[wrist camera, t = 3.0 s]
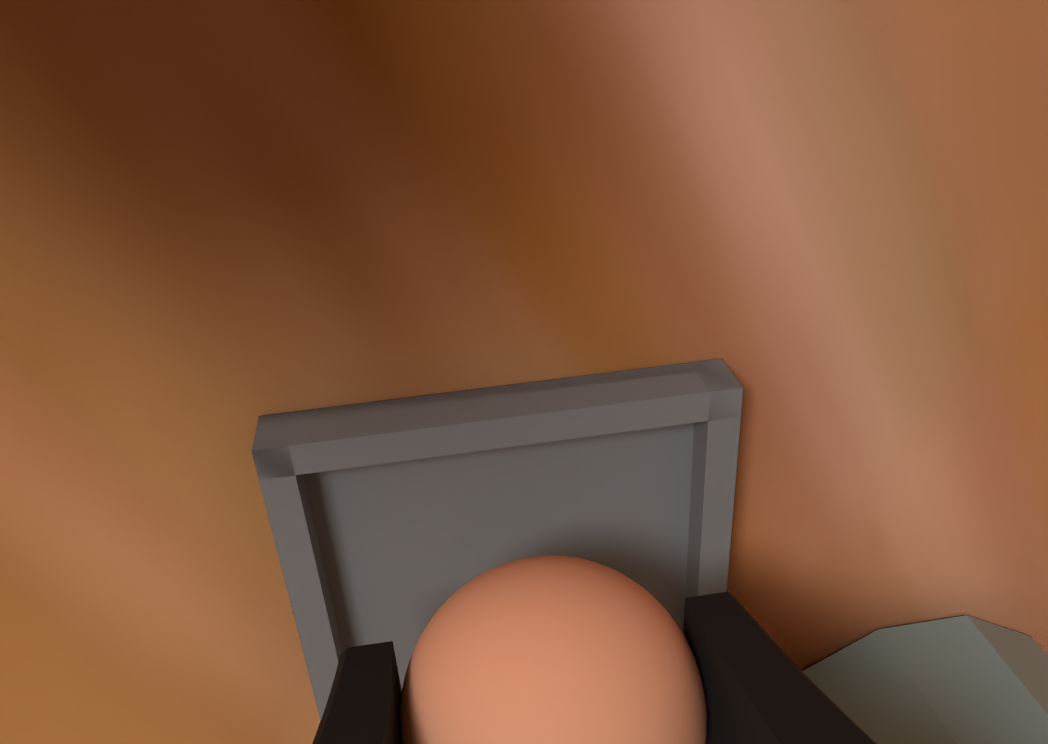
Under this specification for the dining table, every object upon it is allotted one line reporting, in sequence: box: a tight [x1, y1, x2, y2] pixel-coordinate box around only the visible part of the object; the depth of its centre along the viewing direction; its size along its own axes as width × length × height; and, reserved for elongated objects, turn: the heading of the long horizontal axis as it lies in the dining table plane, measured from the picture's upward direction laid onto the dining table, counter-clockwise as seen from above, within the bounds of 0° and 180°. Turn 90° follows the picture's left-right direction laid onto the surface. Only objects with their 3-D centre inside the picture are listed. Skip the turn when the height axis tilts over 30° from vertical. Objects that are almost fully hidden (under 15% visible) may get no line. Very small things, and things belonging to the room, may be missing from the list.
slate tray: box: [252, 359, 743, 719], centre depth 16 cm, size 7×12×1 cm, turn 3°
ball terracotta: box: [400, 555, 707, 744], centre depth 11 cm, size 4×4×4 cm
